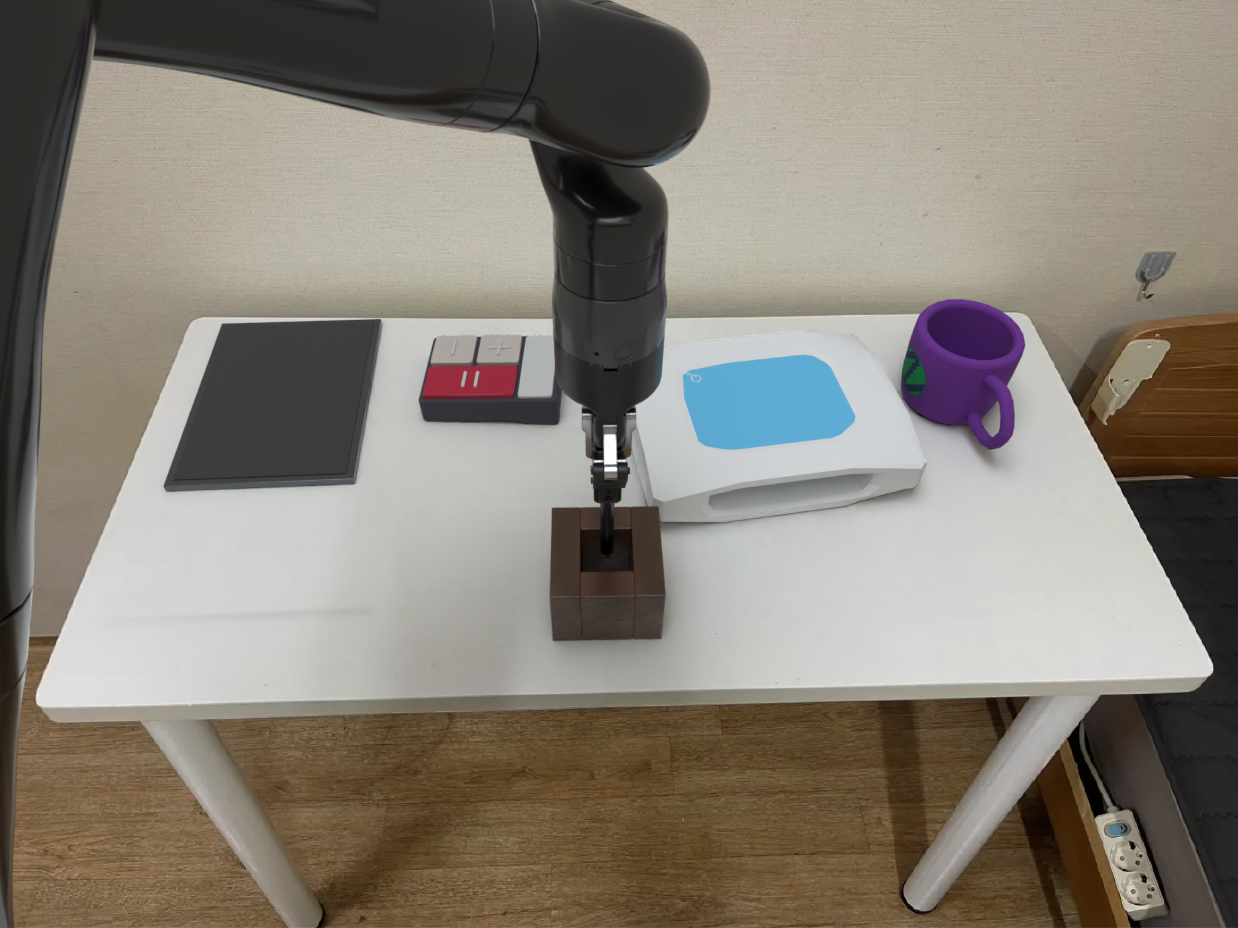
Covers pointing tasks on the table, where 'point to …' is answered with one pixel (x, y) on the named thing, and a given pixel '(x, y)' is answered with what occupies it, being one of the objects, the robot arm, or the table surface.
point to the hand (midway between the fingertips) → (607, 491)
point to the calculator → (491, 379)
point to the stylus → (607, 529)
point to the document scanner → (772, 428)
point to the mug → (963, 366)
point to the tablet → (279, 406)
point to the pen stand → (606, 575)
